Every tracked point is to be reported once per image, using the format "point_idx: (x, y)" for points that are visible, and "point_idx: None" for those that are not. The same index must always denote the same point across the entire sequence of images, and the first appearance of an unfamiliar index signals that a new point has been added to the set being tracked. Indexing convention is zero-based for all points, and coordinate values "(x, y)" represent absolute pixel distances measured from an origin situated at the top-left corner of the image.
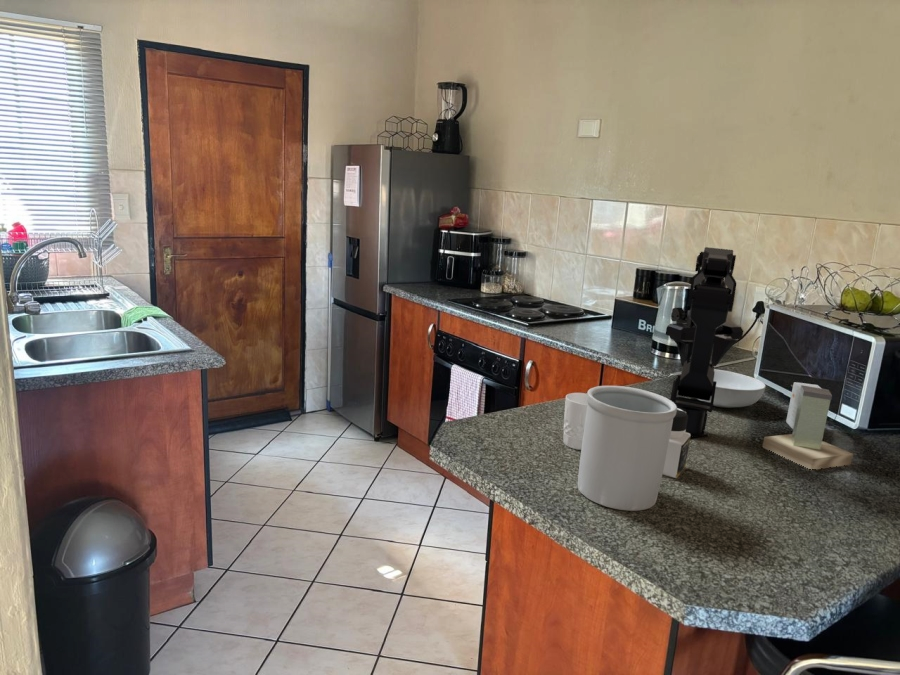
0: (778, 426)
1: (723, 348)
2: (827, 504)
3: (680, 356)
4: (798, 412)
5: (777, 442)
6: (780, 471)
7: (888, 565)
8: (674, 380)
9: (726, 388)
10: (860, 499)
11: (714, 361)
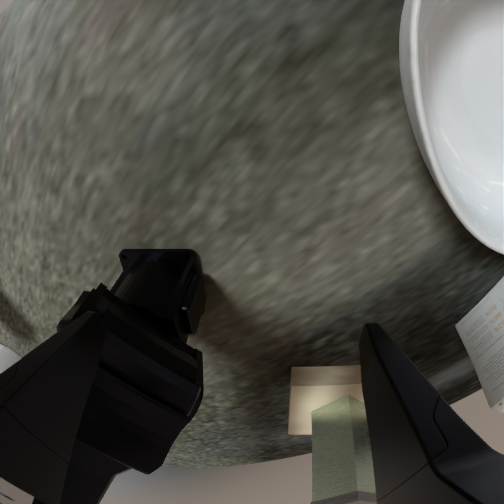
0: (465, 289)
1: (378, 491)
2: (219, 446)
3: (41, 351)
4: (330, 459)
5: (291, 402)
6: (232, 413)
7: (188, 468)
8: (57, 331)
9: (460, 219)
10: (270, 450)
11: (365, 365)
